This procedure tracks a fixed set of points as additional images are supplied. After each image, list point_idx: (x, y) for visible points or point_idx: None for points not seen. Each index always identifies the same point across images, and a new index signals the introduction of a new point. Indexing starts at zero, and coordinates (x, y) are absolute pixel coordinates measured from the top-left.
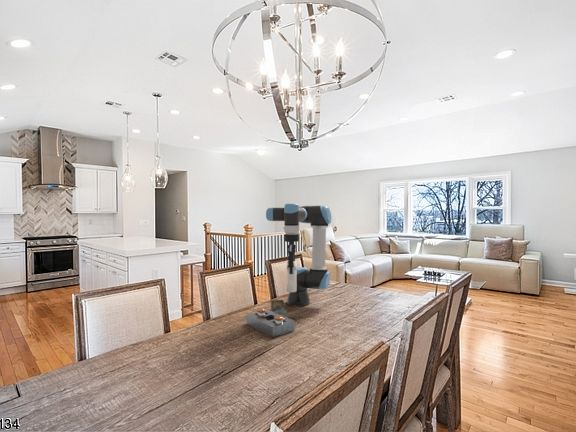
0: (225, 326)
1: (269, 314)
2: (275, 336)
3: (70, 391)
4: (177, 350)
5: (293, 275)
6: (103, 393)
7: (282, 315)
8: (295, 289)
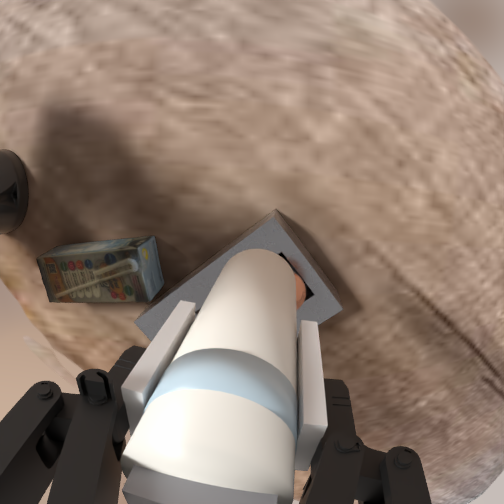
0: None
1: None
2: (331, 283)
3: (444, 499)
4: None
5: (319, 356)
6: (466, 477)
7: (151, 258)
8: (283, 266)
